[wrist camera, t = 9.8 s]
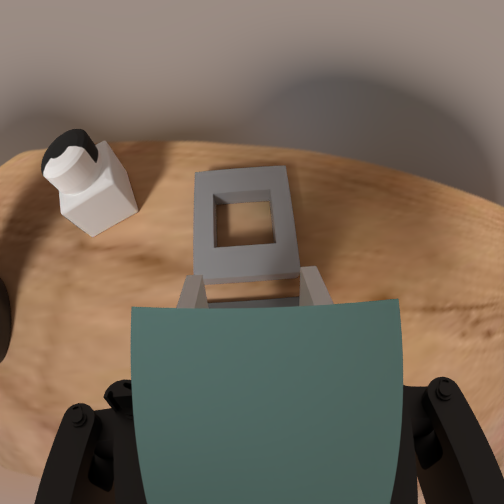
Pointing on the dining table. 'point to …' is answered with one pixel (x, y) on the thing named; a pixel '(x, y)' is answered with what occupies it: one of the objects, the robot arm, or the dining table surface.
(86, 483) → the robot arm
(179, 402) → the plug
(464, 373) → the dining table surface
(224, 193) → the socket block
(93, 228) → the medicine bottle
